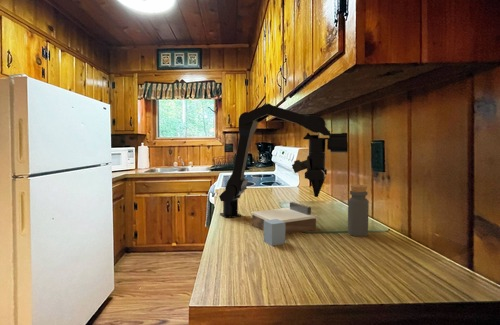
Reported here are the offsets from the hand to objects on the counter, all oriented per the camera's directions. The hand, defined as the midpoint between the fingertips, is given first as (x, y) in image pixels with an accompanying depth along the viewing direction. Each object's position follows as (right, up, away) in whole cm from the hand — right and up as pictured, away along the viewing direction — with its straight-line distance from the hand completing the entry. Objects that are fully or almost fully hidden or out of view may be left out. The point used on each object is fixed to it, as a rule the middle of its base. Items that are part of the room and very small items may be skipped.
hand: (316, 196), depth 105 cm
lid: (-12, -6, -6) cm, 15 cm away
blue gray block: (-17, -10, -22) cm, 29 cm away
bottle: (+10, -10, -14) cm, 20 cm away
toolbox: (-12, -9, -6) cm, 17 cm away
